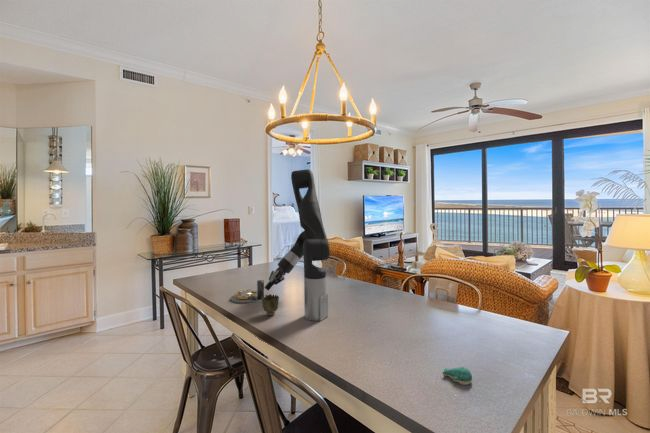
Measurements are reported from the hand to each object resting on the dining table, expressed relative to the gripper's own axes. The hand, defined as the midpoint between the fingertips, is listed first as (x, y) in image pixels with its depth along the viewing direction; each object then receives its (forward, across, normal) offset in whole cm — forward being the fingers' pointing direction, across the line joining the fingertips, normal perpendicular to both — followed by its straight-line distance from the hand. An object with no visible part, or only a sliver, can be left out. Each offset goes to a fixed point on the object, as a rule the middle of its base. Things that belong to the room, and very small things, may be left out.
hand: (266, 289), depth 153 cm
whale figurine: (-11, +92, +20) cm, 95 cm away
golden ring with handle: (+8, -6, -1) cm, 10 cm away
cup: (+8, +19, +1) cm, 21 cm away
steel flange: (+10, -9, -1) cm, 13 cm away
